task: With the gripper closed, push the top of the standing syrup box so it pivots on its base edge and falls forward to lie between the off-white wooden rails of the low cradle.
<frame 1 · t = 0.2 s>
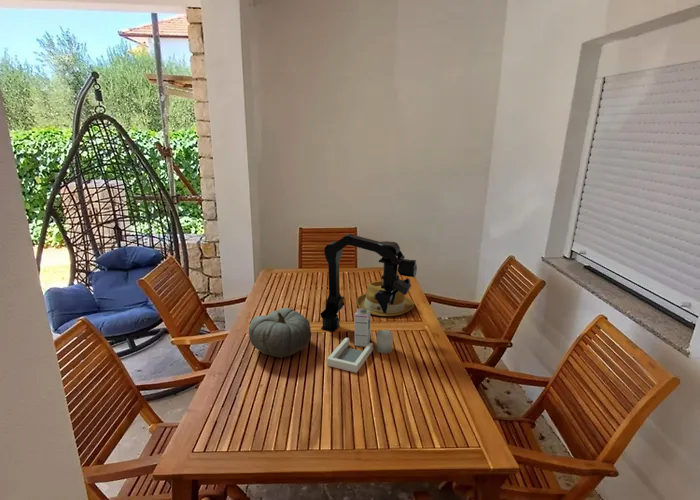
hand: (388, 308, 171), 14 cm above the table, fingers open, 9 cm apart
grey rounded dome: (384, 349, 167), on the table
fedora: (384, 306, 207), on the table
gourd: (281, 348, 167), on the table
cradle: (351, 356, 161), on the table
syrup box: (362, 343, 171), on the table
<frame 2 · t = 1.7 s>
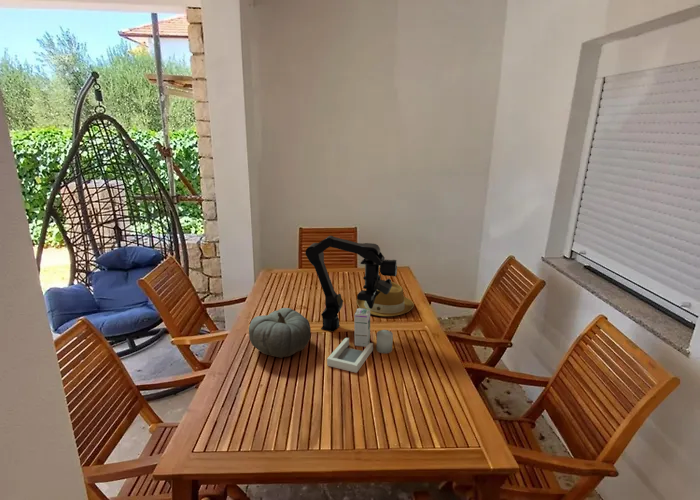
hand: (371, 308, 177), 12 cm above the table, fingers closed
nothing on the table moved.
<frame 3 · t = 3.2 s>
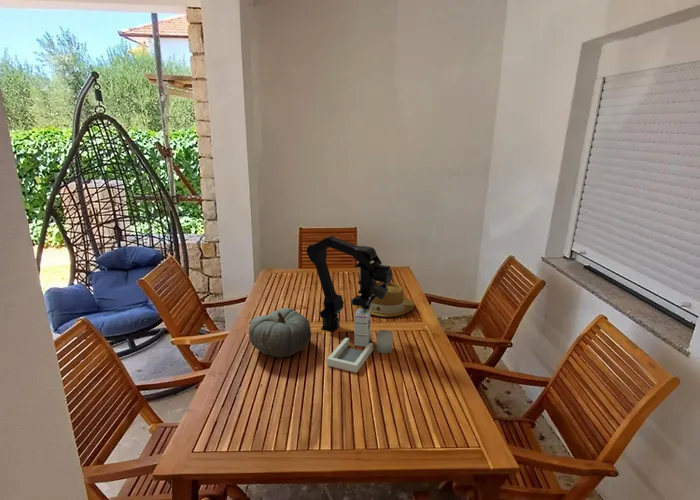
hand: (366, 313, 171), 12 cm above the table, fingers closed
syrup box: (362, 343, 171), on the table, touching gripper
everything else where it was.
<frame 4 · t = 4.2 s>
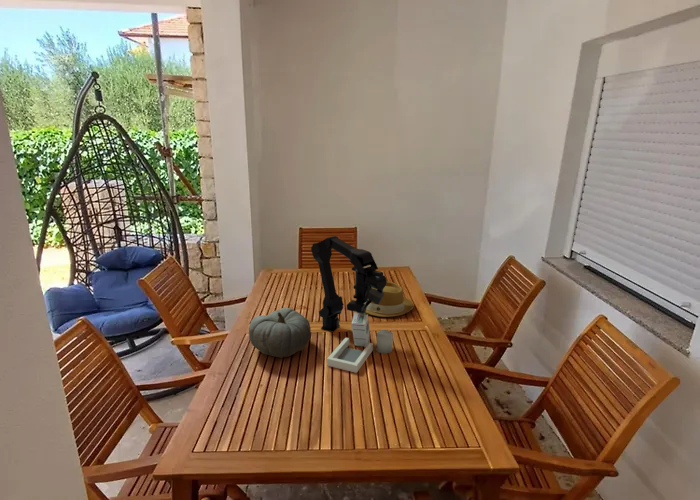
hand: (361, 318, 167), 12 cm above the table, fingers closed
syrup box: (362, 341, 171), point 1 cm above the table
everything else where it was.
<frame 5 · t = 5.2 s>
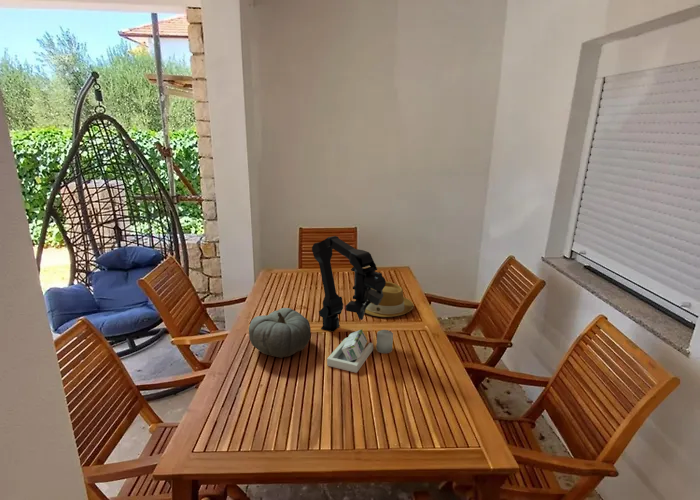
hand: (361, 319, 166), 11 cm above the table, fingers closed
syrup box: (358, 337, 168), point 4 cm above the table, touching cradle
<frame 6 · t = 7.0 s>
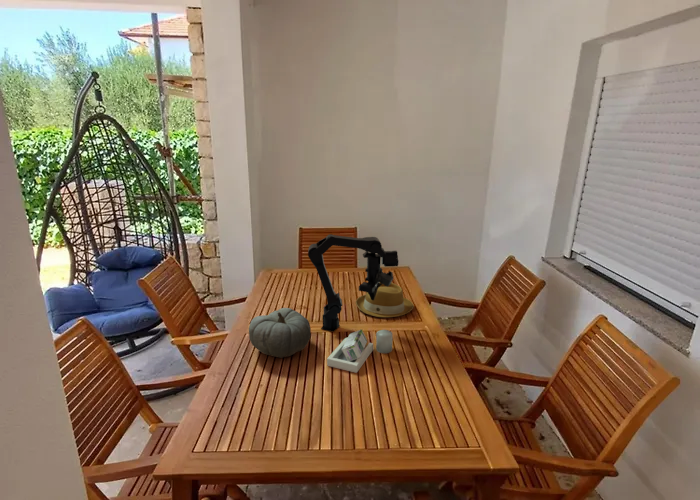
hand: (372, 299, 181), 13 cm above the table, fingers closed
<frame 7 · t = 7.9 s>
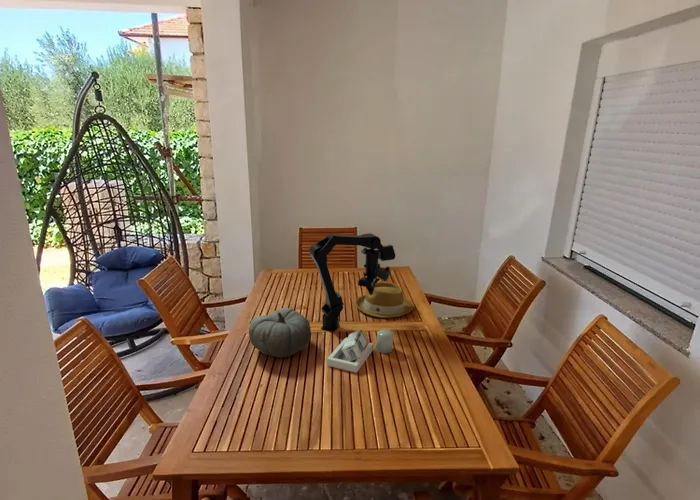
hand: (371, 294, 187), 13 cm above the table, fingers closed
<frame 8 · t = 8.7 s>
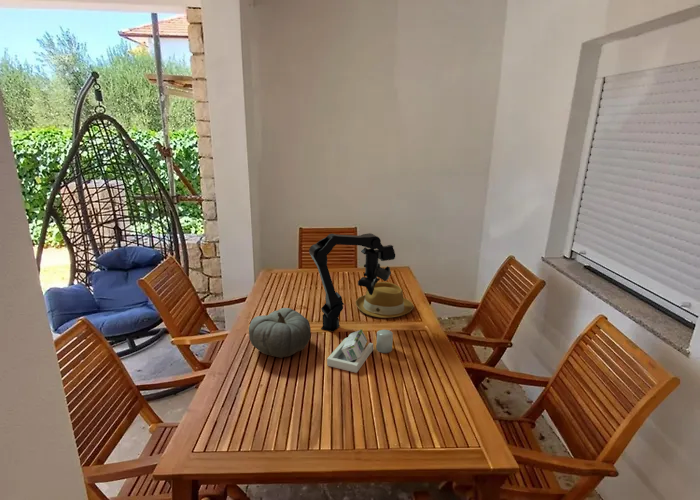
hand: (371, 294, 187), 13 cm above the table, fingers closed
at the end: syrup box tilted 86°; syrup box inside the target area (8.9 cm from its centre), point 3.9 cm above the table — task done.
